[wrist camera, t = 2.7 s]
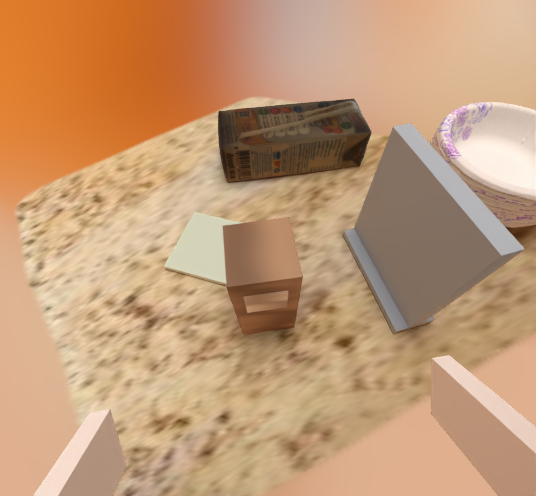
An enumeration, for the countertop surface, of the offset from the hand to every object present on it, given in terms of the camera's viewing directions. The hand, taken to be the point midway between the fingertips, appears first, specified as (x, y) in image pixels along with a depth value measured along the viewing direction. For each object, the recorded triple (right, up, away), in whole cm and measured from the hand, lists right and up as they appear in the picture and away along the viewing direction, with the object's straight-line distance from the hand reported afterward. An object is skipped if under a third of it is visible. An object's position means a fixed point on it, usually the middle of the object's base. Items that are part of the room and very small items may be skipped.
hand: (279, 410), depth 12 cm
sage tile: (-7, +7, +21) cm, 24 cm away
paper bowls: (+26, +13, +25) cm, 38 cm away
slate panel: (+12, +4, +19) cm, 23 cm away
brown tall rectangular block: (-1, +1, +18) cm, 18 cm away
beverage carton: (+3, +20, +30) cm, 36 cm away
